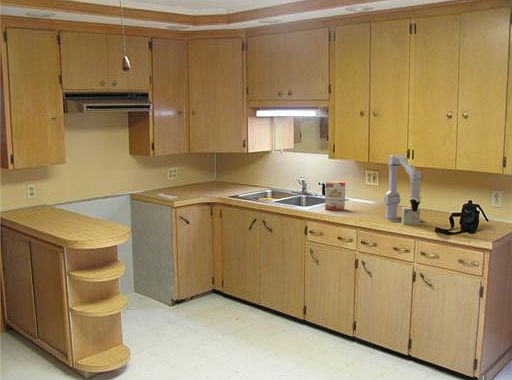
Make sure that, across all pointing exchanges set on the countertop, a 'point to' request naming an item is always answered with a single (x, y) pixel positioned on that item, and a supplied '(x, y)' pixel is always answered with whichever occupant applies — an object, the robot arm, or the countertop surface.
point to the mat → (401, 220)
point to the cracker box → (335, 195)
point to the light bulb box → (410, 216)
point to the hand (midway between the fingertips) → (414, 211)
